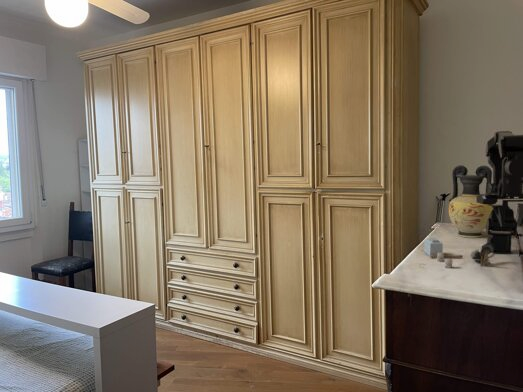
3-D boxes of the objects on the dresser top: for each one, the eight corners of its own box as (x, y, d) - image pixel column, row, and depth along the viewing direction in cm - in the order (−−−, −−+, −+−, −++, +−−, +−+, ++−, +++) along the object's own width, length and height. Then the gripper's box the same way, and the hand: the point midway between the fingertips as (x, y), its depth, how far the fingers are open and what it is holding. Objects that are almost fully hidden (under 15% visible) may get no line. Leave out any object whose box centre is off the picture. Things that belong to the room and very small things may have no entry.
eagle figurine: (502, 264, 124) (499, 252, 131) (489, 245, 124) (486, 234, 131) (478, 275, 127) (476, 263, 135) (465, 256, 127) (464, 245, 135)
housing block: (436, 251, 145) (436, 237, 144) (442, 256, 138) (442, 241, 138) (424, 251, 145) (424, 237, 145) (430, 256, 139) (430, 240, 138)
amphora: (494, 234, 176) (496, 164, 173) (492, 241, 162) (494, 165, 159) (450, 231, 186) (451, 165, 183) (444, 237, 171) (445, 166, 169)
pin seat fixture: (455, 253, 143) (455, 246, 143) (477, 268, 124) (477, 260, 124) (425, 253, 144) (425, 246, 144) (442, 268, 125) (442, 260, 125)
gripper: (531, 174, 132) (529, 222, 133) (470, 175, 134) (469, 222, 136) (551, 176, 121) (549, 228, 122) (484, 177, 123) (483, 228, 125)
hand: (510, 226), depth 126 cm, fingers open, 5 cm apart
